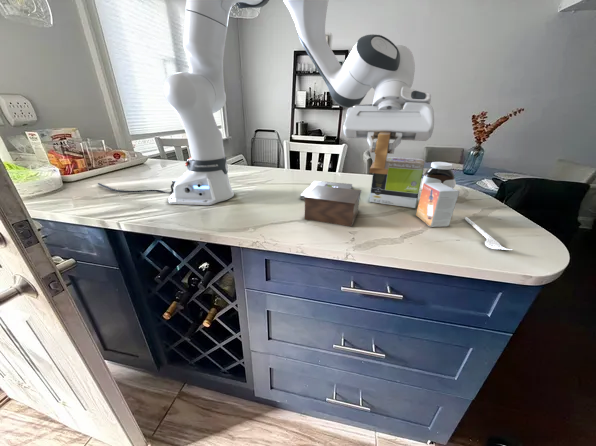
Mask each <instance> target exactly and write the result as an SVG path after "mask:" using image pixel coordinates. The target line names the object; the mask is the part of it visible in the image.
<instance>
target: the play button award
mask: <svg viewBox="0 0 596 446" xmlns="http://www.w3.org/2000/svg"><path fill="white" fill-rule="evenodd" d="M317 185H319V186H328V187H336V188H345V189H353V183H346V182H345V183H344V182H336V181H335V182H334V181H333V182H332V181H324V180H323V181H321V180H313V181H312V182H311V183H310V185H309V186H308V187H307V188H306V189H304V190H303V192H302V193H301V194H300V200H304V201H305V199H304V197H305V196H306V195H307V194H308V193H309V192H310V191H311V190H312V189H313V188H315V187H316V186H317Z"/></svg>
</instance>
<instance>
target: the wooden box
mask: <svg viewBox="0 0 596 446" xmlns="http://www.w3.org/2000/svg"><path fill="white" fill-rule="evenodd" d="M361 193H362V190H361V189H353V188H352V189H345V188H336V187H328V186H319V185H317V186H316V187H315V188H313V189H312V190H311V191H310V192H309V193H308V194H307V195H306V196H305V197H304V199H305V200H304V220H308V221H313V222H321V223H326V224H333V225H339V226H345V227H353V224H354V222H355V220H356V219H357V218H356V217H357V216H358V213H359V209H360V201H361Z"/></svg>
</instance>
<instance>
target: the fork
mask: <svg viewBox="0 0 596 446" xmlns="http://www.w3.org/2000/svg"><path fill="white" fill-rule="evenodd" d="M463 219H464V220H465V221H466V222H467V223H468V224H469V225H471V226H472V227H473V228H474V229H475V230H476V231H477V232H478V233H479V234H481V235H482V236H483V237H484V238H485V239H486V240H485V241H484V245H485V246H486V247H487V248H489V249H493V250H502V251H513V250H514V249H510V248H507V247H504V246H502V244H501V243H500V242H498V241H497V240H496V239H495V238H494V237H492V236H491V235H490V234H489V233H487V232H486V231H485V230H484V229H483V228H481V227H480V226H479V225H478V224H477V223H475V222H474V221H473V220H471V219H470V218H469V217H468V216H464V217H463Z"/></svg>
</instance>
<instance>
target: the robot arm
mask: <svg viewBox="0 0 596 446" xmlns="http://www.w3.org/2000/svg"><path fill="white" fill-rule="evenodd" d="M269 1H270V0H185V7H184V20H183V21H184V22H183V33H182V34H183V35H182V46H183V49H184V51H185V53H186V57H187V62H188V67H189V68H188V70H189V71H180V72H175V73H172V74H170V75H169V76H167V77H166V78H165V80H164V83H163V95H164V97H165V100H166V102H167V103H168V105H169V106H170V107H171V108H172V109H173V110H174V111H175V113H176V114H177V117H178V118H179V121H180V123H181V125H182V127H183V129H184V132H185V135H186V138H187V145H188V147H189V154H190V157H188V159H187V160H186V161H185V163H184V164H185V167H186V168H187V170H186V171H185V172H183V174H182V175H180V176H179V177H178V178H176V179H174V180H171V184H170V190H171V191H169V192H168V191H163V190H161V189H140V190H138V189H137V190H125V189H124V190H123V189H115V188H111V187H109V186H107V185H105V184H103V183H101V182H97V185H99V186H100V187H102V188H104V189H108V190H110V191H112V192H118V193H149V192H158V193H161V194H170V196H168V198H167V200H168V204H170V205H189V206H190V205H191V206H195V205H196V206H212V205H215V204H217V203H221V202H224V201H227V200H230V199H232V198H233V197H234V196H235V193H234V190H233V188H232V185H231V181H230V178H229V166H228V160H227V156H226V154H225V146H224V140H223V138H224V137H223V134H222V131H221V130H220V129H219V127H218V124H217V122H216V119H215V116H214V114H215V113H217V112H219V111H220V110H222V109H223V108H224V107H225V105H226V101H227V94H226V91H225V84H224V83H225V81H224V55H225V48H226V41H227V40H226V39H227V33H228V25H229V17H230V12H231V10H232V7H234V5H236V7H237V8H238V9H259V8H260V9H261V8H263V7H264V6H266V5H267V4H268V3H269ZM282 2H283V3H284V5H285V6H286V8H287V9H288V11H289V13H290V16H291V18H292V20H293V22H294V25H295V29H296V33H297V37H298V40H299V41H300V44H301V45H302V48H303V49H304V50H305V52H306V54H307V55H308V57H309V59H310V60H311V62H312V64H314V67H315V68H316V70H317V72H318V73H319V75H320V76H321V78H322V79H323V82H324V83H325V85H326V87H327V89H328V91H329V95H330V96H331V98H332V100H333V101H334V102H335V103H336V104H337V105H338V106H339V107H342V108H346V109H347V110H346V113H345V120H344V122H343V125H342V130H343V135H344V137H345V138H348V139H366V140H367V141H366V142H367V144H368V145H369V153H374V154H375V148H376V142H375V141H374V140H378V134H379V133H380V132H391V136H390V141H393V142H389V146H388V152H387V153H388V154H393V155H394V154H395V149H396V148H397V147H398V146H399V145H401V143H402V141H414V142H415V141H417V142H427V141H428V140H430V139H431V137H432V135H433V133H434V129H435V111H434V108H433V106H432V105H431V102H432V101H431V100H432V94H431V93H429V92H425V91H422V90H417V89H414V88H412V86H413V83H414V79H415V71H416V70H415V69H416V68H415V67H416V65H415V58H414V54H413V52H412V50H411V49H410V48H409V47H407V46H406V45H403V44H397V45H396V44H395V43H394V42H393V41H392V40H390V39H389V38H387V37H385V36H383V35H381V34H373V33H372V34H366V35H363V36H361V37H359V39H358V40H357V42H356V43H355V44H354V46H353V47H352V49H351V51H350V52H349V54H348V55H347V57H346V59H345V61H344V62H343V64H341V63H340V62H339V60H338V58H337V56H336V55H335V53H334V52H333V49H332V48H331V46H330V45H329V42H328V39H327V35H326V20H327V19H326V18H327V11H328V5H329V0H282ZM371 89H373V90H374V95H373V99H372V103H371V104H370V103H369V104H368V103H365V104H361V103H362V101H363V100H364V98H365V97H366V96H367V94H368V93H369V92H370V90H371Z"/></svg>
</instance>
